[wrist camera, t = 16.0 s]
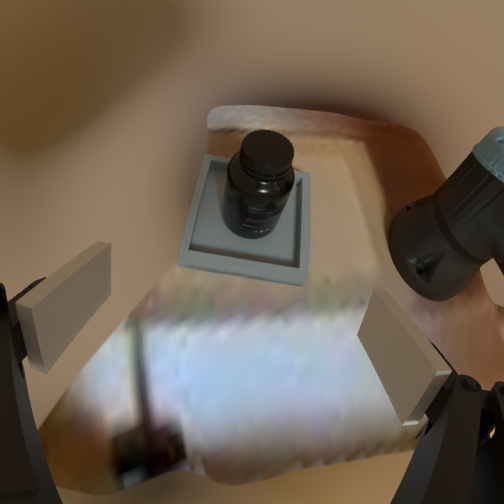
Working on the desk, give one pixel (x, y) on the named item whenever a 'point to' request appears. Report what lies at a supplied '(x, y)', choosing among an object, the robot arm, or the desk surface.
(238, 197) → the supplement bottle
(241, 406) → the desk surface
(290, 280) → the tray
